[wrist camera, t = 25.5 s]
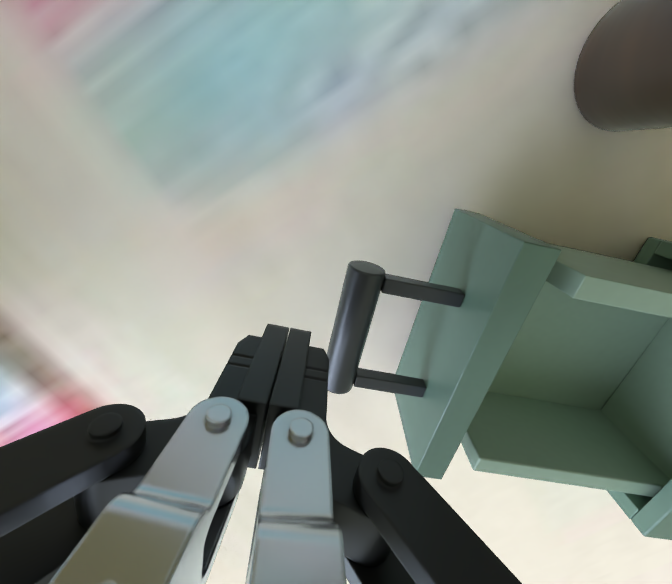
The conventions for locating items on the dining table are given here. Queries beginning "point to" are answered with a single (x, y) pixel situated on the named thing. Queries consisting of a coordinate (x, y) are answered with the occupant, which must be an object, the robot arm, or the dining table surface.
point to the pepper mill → (628, 68)
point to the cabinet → (668, 504)
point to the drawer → (524, 359)
